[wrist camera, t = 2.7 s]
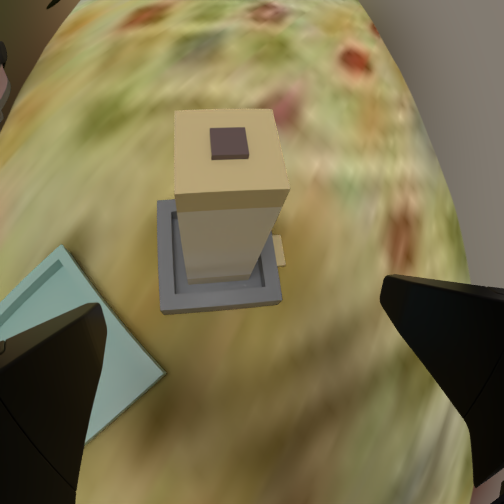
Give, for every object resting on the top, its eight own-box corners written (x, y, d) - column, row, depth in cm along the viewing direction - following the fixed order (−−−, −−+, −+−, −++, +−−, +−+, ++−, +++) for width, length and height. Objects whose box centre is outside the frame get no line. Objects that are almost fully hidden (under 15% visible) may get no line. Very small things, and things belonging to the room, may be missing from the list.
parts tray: (167, 373, 20) (163, 373, 19) (60, 466, 16) (50, 472, 14) (70, 252, 22) (61, 244, 20) (-22, 343, 18) (-34, 340, 16)
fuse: (248, 279, 23) (292, 184, 12) (188, 284, 22) (173, 189, 11) (241, 225, 24) (273, 104, 13) (184, 229, 24) (174, 106, 12)
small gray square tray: (290, 303, 23) (296, 298, 22) (163, 314, 22) (160, 310, 20) (273, 204, 26) (278, 194, 24) (159, 210, 24) (157, 200, 23)
